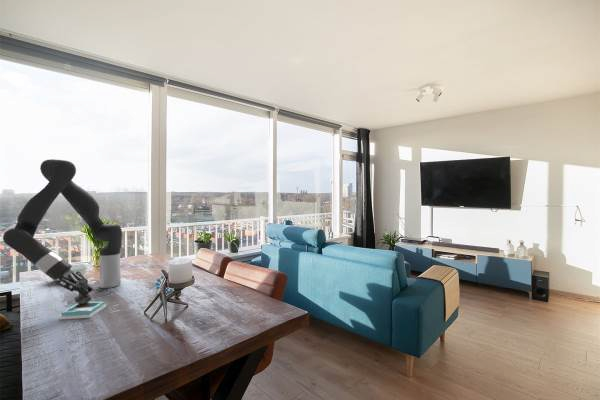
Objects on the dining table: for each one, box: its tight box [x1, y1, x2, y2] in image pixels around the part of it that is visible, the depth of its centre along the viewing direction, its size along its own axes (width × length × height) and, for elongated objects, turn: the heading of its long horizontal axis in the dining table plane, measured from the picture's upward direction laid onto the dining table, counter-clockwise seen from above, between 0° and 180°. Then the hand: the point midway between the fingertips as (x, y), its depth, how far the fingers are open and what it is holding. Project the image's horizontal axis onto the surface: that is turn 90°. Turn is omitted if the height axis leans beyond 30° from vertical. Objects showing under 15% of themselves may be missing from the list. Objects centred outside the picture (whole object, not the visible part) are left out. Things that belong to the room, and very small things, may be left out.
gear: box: [155, 275, 173, 292], centre depth 146 cm, size 11×6×10 cm
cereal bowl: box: [56, 264, 88, 282], centre depth 165 cm, size 17×17×7 cm
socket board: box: [58, 301, 108, 320], centre depth 119 cm, size 12×12×2 cm
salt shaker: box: [73, 276, 93, 308], centre depth 118 cm, size 6×6×12 cm
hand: (88, 292), depth 119 cm, fingers closed on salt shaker, 3 cm apart
